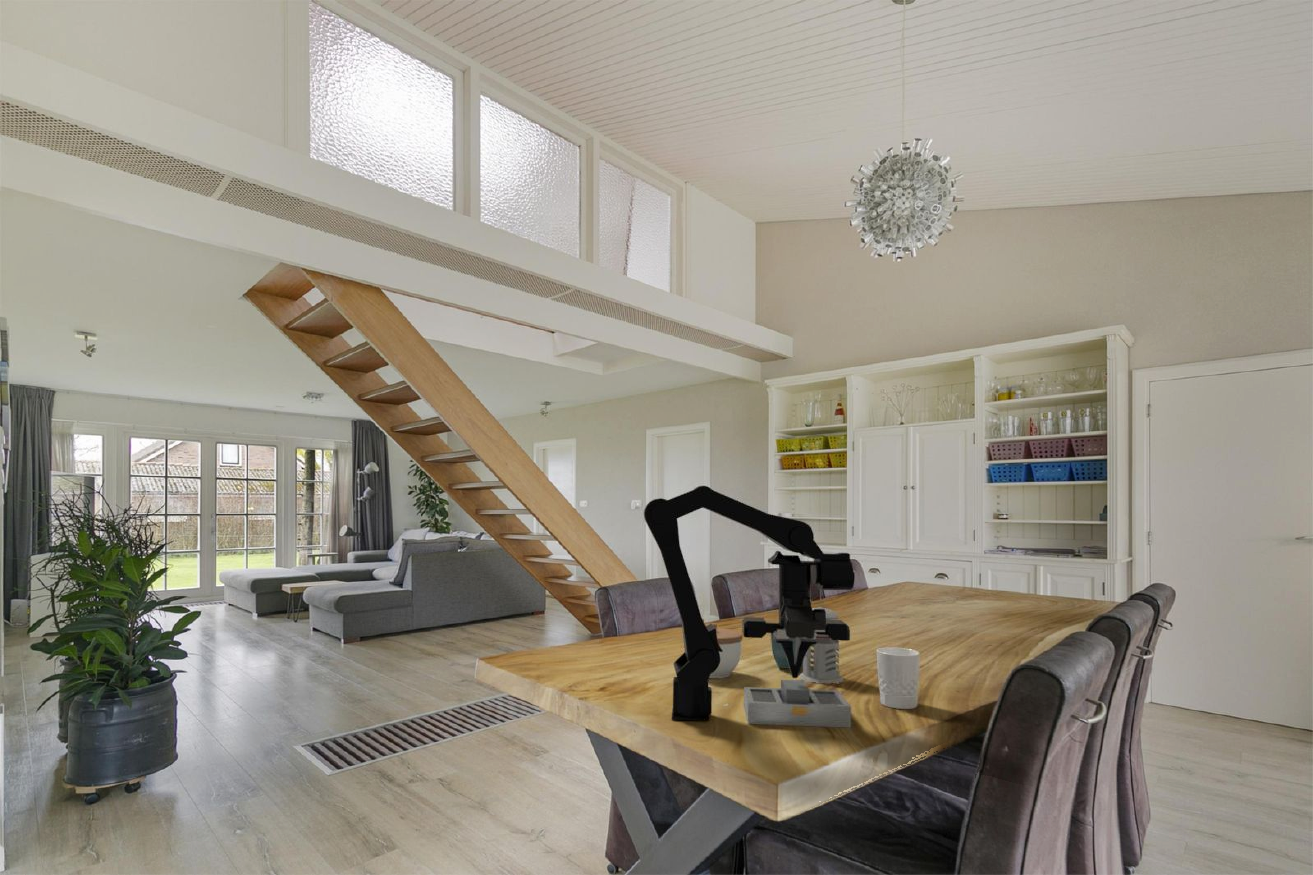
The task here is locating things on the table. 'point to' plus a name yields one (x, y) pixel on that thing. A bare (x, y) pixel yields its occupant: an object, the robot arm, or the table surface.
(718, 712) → the table surface
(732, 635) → the lidded bowl
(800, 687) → the grey upright box
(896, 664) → the white cup
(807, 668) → the french press
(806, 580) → the robot arm
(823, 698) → the rack
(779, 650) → the flower pot
